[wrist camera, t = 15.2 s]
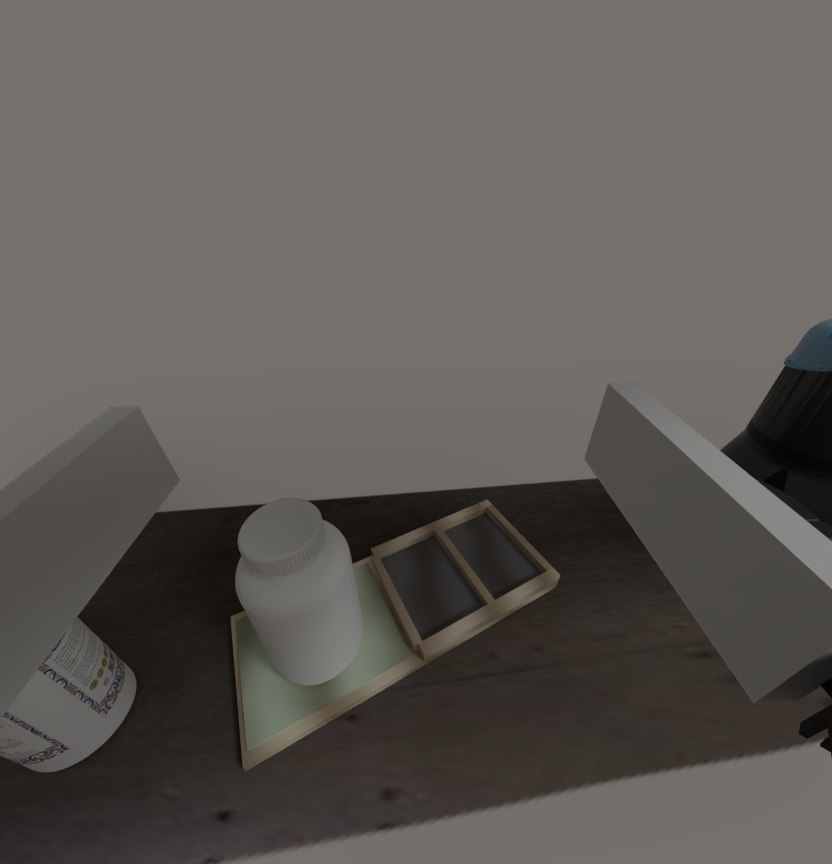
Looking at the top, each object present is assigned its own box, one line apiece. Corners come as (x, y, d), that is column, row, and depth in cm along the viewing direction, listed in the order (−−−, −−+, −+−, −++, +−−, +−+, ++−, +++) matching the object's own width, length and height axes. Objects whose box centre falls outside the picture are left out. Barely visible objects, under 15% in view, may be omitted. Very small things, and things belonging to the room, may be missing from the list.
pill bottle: (272, 706, 27) (204, 597, 19) (273, 610, 33) (222, 497, 25) (373, 669, 29) (351, 556, 21) (355, 585, 36) (334, 472, 27)
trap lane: (485, 510, 45) (487, 499, 44) (556, 586, 36) (560, 575, 35) (233, 621, 34) (226, 609, 33) (245, 771, 25) (237, 763, 24)
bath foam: (118, 649, 32) (-49, 486, 21) (155, 699, 28) (-19, 538, 17) (16, 730, 27) (-274, 575, 16) (46, 801, 24) (-291, 670, 13)
